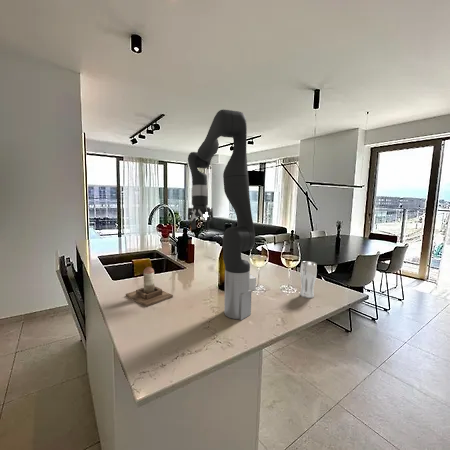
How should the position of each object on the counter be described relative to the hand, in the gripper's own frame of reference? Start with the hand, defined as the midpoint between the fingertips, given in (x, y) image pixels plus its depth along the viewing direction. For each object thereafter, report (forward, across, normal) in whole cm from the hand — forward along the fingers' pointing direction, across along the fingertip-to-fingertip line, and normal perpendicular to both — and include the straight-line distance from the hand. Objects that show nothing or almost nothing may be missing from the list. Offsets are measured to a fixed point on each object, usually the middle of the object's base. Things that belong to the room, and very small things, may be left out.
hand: (200, 229), depth 123 cm
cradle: (+28, -10, -22) cm, 37 cm away
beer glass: (+30, +43, +24) cm, 58 cm away
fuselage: (+27, -10, -22) cm, 37 cm away
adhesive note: (+29, +18, +14) cm, 36 cm away
